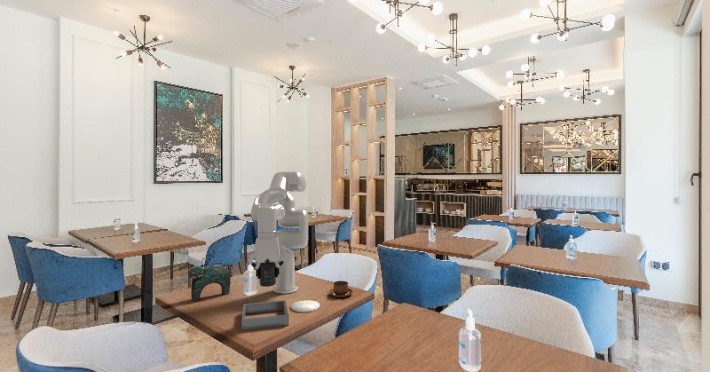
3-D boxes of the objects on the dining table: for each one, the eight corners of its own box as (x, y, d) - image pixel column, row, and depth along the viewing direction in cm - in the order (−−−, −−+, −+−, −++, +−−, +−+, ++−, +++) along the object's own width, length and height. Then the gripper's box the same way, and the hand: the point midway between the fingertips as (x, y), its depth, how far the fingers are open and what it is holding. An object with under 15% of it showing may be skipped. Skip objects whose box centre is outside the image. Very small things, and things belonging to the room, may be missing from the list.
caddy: (243, 313, 157) (243, 304, 157) (285, 309, 162) (285, 300, 162) (241, 330, 140) (241, 320, 140) (288, 325, 145) (288, 315, 145)
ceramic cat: (190, 303, 170) (189, 261, 170) (186, 299, 175) (185, 258, 175) (232, 294, 183) (231, 255, 182) (227, 291, 188) (226, 253, 187)
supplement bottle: (279, 283, 154) (278, 255, 153) (270, 287, 147) (269, 258, 147) (265, 281, 156) (265, 253, 156) (256, 286, 150) (255, 257, 149)
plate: (289, 303, 169) (289, 301, 169) (317, 300, 172) (317, 299, 172) (292, 313, 156) (292, 312, 156) (322, 310, 160) (322, 308, 160)
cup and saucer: (357, 293, 183) (357, 281, 183) (344, 300, 173) (343, 288, 173) (338, 289, 189) (337, 278, 189) (324, 296, 179) (324, 284, 179)
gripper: (287, 232, 157) (288, 273, 157) (245, 234, 152) (246, 276, 153) (288, 235, 149) (289, 278, 150) (245, 238, 145) (245, 281, 146)
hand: (267, 277), depth 152 cm, fingers closed on supplement bottle, 6 cm apart
